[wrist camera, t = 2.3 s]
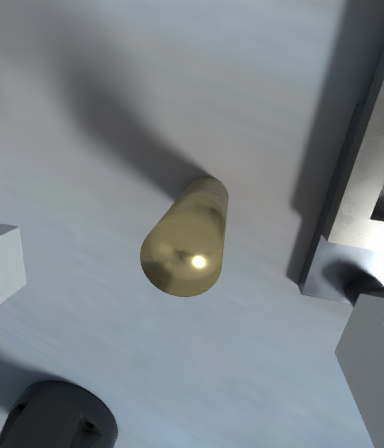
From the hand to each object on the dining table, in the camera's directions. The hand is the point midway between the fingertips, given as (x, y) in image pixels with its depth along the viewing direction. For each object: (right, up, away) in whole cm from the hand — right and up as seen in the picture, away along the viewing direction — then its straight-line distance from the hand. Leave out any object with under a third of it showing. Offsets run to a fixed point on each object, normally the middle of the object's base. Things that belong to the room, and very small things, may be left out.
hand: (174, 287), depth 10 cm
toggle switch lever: (+2, +5, +14) cm, 15 cm away
